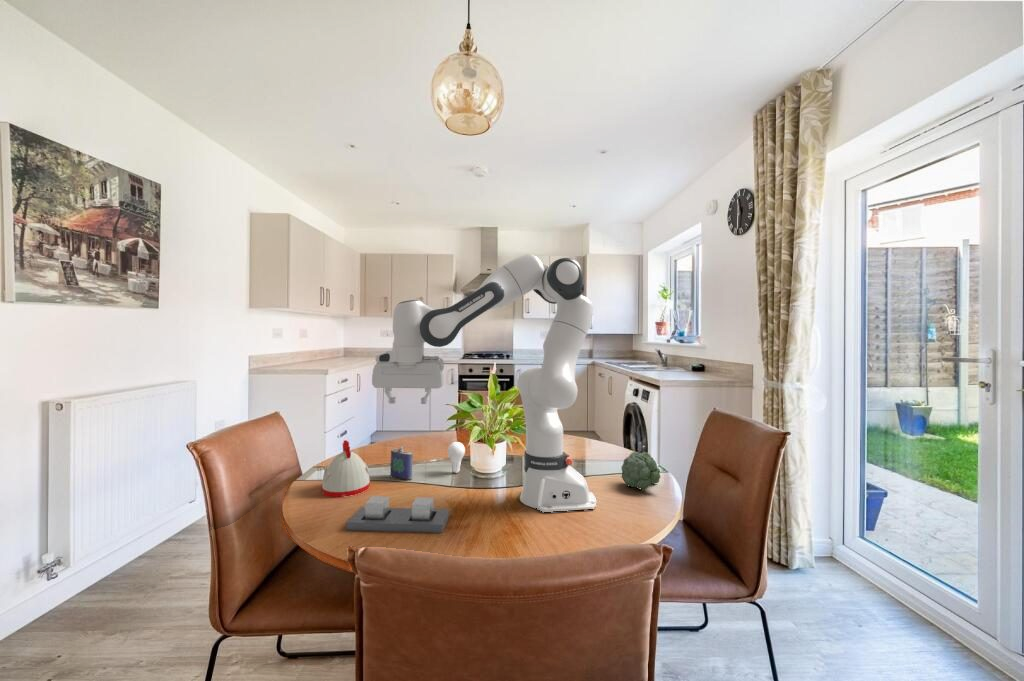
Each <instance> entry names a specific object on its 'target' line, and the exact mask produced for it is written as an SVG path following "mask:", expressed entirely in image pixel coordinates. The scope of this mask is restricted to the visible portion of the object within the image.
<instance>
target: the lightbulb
mask: <svg viewBox="0 0 1024 681" xmlns="http://www.w3.org/2000/svg"><path fill="white" fill-rule="evenodd" d="M465 453H466V447H465V446H464V444H463V443H462V442H459V441H455V442H452V443H451V444H449V446H448V447H447V454H448V456H449V459H450V462H451V468H452V472H453V473H455V474H458V473H459V472H460V471H461V463H462V460H463V458H464V456H465Z"/></svg>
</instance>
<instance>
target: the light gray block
mask: <svg viewBox="0 0 1024 681" xmlns="http://www.w3.org/2000/svg"><path fill="white" fill-rule="evenodd" d="M434 499H435V498H434V497H423V496H422V497H420V496H418V497H416V498H415V499H414V501H413V502H412V504H411V508H412V521H422V522H432V520H433V514H434V509H435V508H434V502H435V501H434Z"/></svg>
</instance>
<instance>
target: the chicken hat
mask: <svg viewBox="0 0 1024 681" xmlns="http://www.w3.org/2000/svg"><path fill="white" fill-rule="evenodd" d="M342 450H343V451H342V452H340V453H338V454H337V455H336V456H335V457H334V458H333V459H332V460H331V461H330V463H329V465H328V466H327V467H324V472H323V475H322V484H321V485H322V486H321V487H322V488H321V493H323V494H322V495H323V496H325V495H326V496H325V497H328V496H331V497H330V498H345V497H344V496H349V497H351V496H350V495H354V496H356V495H355V494H357V495H359V494H358V493H361V492H363V491H365V490H366V491H368V490H369V489H370V487H369V486H370V483H371V481H370V476H369V474H370V472H369V466H368V465H367V463H366V462H365V461H363V459H362V458H361V456H360V455H358V454H357V453H355V452H353V451H350V450H351V446H350V442H349V440H347V439H346V440H343V443H342ZM368 488H369V489H368ZM367 489H368V490H367ZM366 491H365V492H366ZM363 493H364V492H363ZM361 494H362V493H361Z"/></svg>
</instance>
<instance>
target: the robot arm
mask: <svg viewBox="0 0 1024 681" xmlns="http://www.w3.org/2000/svg"><path fill="white" fill-rule="evenodd" d="M532 291H533V292H534V293H536V294H537V295H539V297H540V298H542V300H544V301H545V302H547V303H548V304H555V305H556V306H557V307H556V311H555V316H554V317H553V319H552V322H551V325H550V327H549V330H548V332H547V334H546V337H545V338H544V339H545V340H544V342H543V345H542V348H543V360H542V364H541V365H542V366H541V367H532V368H528V369H525V370H523V372H521V373H520V374H519V376H518V378H517V382H516V387H517V390H518V393H519V394H520V398H521V404H522V410H523V416H524V420H525V422H524V423H525V431H526V432H525V450H524V455H523V469H524V478H523V484H522V488H521V493H520V496H519V500H520V502H521V503H522V504H523V505H525V506H528V507H530V508H532V509H536V508H537V509H536V510H538V511H539V510H540V511H539V512H541V511H542V512H541V513H544V512H551V513H554V512H553V511H567V512H569V511H568V510H578V509H590V508H594V507H595V506H596V507H597V505H596V503H597V498H596V496H595V494H594V493H593V492H592V491H590V490H589V484H588V482H587V480H586V478H585V477H584V476H583V475H582V474H581V473H580V472H579V471H577V470H576V469H575V468H574V467H572V465H573V463H574V461H573V459H572V457H570V455H569V454H568V453H567V452H564V427H563V423H562V421H561V419H560V416H559V414H558V410H565V409H568V408H570V407H571V406H573V404H574V403H575V402H576V400H577V398H578V391H579V390H578V389H579V388H578V385H577V382H576V369H577V368H576V367H577V362H578V358H579V356H580V352H581V349H582V347H583V344H584V342H585V340H586V338H587V334H588V331H589V329H590V326H591V321H592V317H593V312H594V305H593V302H592V301H591V300H590V299H589V298H588V297H586V296H585V295H583V293H584V292H585V285H584V274H583V269H582V266H581V265H580V264H579V262H578V261H576V260H575V259H573V258H572V257H571V258H569V257H562V258H561V257H560V258H558V259H555V261H553V262H551V264H550V265H549V266H548V265H545V264H543V261H541V260H540V258H539V257H538V256H536V255H534V254H532V253H530V254H529V253H526V254H524V255H521V256H518V257H516V258H514V259H512V260H510V261H508V262H507V263H504V264H503V265H501V266H500V267H498V268H497V269H496V270H494V271H493V272H492V273H491V274H490V275H488V276H487V277H486V278H485V279H484V281H483V282H482V283H481V285H480V286H479V287H477V289H476V290H474V292H472V293H470V294H469V295H467V296H465V297H464V298H463V299H461V300H460V301H458V302H456V303H455V304H453V305H451V306H449V307H444V308H437V309H434V308H432V307H430V306H428V305H427V304H425V303H424V302H423V301H421V300H418V299H409V300H405V301H401V302H399V303H397V304H396V305H395V307H394V310H393V315H392V334H393V342H392V350H387V351H386V352H383V353H379V354H378V355H377V354H376V356H375V361H376V363H375V364H374V367H373V369H372V376H371V383H372V384H371V385H372V386H373V387H374V388H375V389H377V388H378V389H384V393H385V395H386V397H387V398H388V404H389V405H390V404H391V405H392V404H396V396H393V395H392V390H393V389H424V392H425V394H424V396H422V397H420V404H421V405H427V404H428V398H429V396H430V394H431V392H432V389H441V388H442V387H443V386H444V374H443V371H444V369H445V362H444V360H443V358H441V357H439V356H437V355H436V356H435V355H433V356H430V355H427V356H426V355H425V352H424V351H425V346H424V345H425V343H426V344H428V345H430V346H432V347H435V348H436V347H437V348H441V347H445V346H447V345H450V344H451V343H452V342H453V341H454V340H455V339H456V338H457V336H458V334H459V333H460V331H461V329H462V328H463V327H465V326H466V325H467V324H469V323H470V322H471V321H473V320H475V319H477V317H479V316H480V315H483V314H484V313H486V312H487V311H490V310H492V309H496V308H501V307H504V306H507V305H510V304H512V303H514V302H515V301H518V300H519V299H521V298H522V297H523V296H525V295H526V294H528V293H530V292H532Z"/></svg>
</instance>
